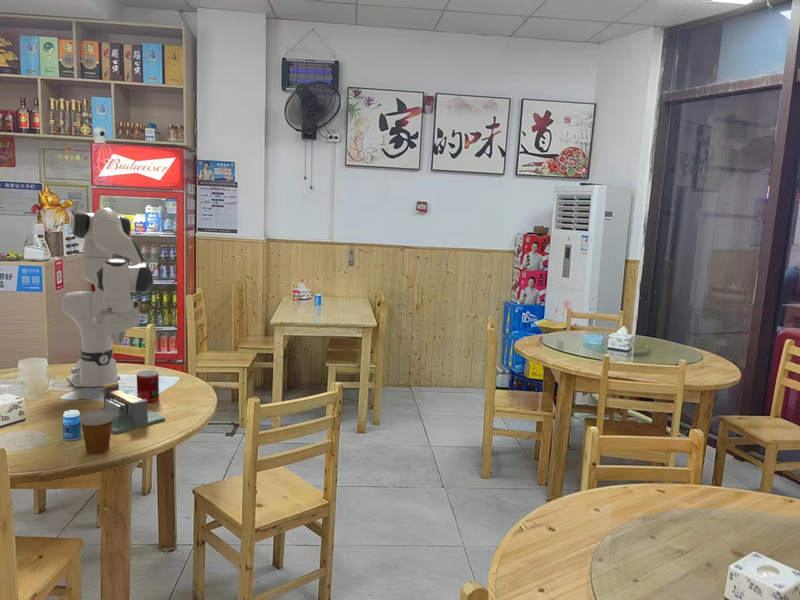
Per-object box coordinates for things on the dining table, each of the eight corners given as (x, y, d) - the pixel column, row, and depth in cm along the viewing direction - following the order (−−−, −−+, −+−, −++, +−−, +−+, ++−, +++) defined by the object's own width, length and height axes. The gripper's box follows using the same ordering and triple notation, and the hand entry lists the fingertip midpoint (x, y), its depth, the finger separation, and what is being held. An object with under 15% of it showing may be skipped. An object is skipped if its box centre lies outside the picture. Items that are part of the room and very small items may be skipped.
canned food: (154, 403, 228) (153, 376, 226) (133, 402, 228) (132, 375, 226) (162, 397, 236) (161, 371, 234) (142, 396, 236) (142, 369, 234)
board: (82, 415, 212) (81, 387, 211) (130, 404, 226) (130, 377, 225) (115, 433, 198) (114, 403, 196) (165, 420, 212) (164, 391, 210)
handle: (109, 395, 214) (109, 391, 214) (117, 393, 216) (117, 389, 216) (133, 407, 204) (133, 403, 204) (141, 405, 206) (141, 401, 206)
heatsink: (104, 416, 210) (103, 399, 210) (131, 409, 218) (131, 393, 217) (118, 423, 204) (117, 406, 204) (145, 416, 212) (145, 400, 211)
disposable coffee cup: (111, 455, 181) (110, 418, 180) (77, 457, 179) (75, 420, 177) (117, 443, 190) (116, 407, 189) (84, 445, 188) (82, 409, 186)
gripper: (106, 311, 196) (108, 352, 199) (142, 301, 216) (143, 338, 218) (89, 310, 197) (91, 350, 200) (126, 300, 217) (127, 336, 219)
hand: (118, 343), depth 209 cm, fingers closed
